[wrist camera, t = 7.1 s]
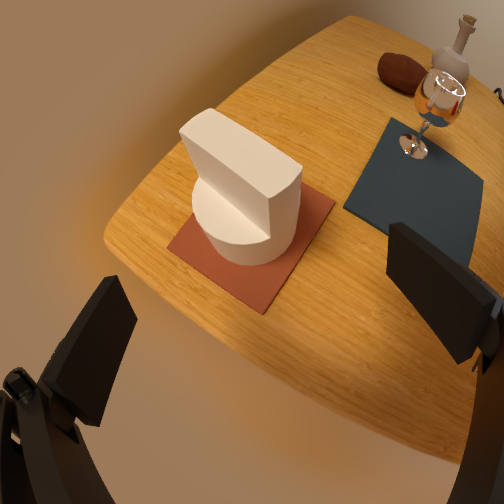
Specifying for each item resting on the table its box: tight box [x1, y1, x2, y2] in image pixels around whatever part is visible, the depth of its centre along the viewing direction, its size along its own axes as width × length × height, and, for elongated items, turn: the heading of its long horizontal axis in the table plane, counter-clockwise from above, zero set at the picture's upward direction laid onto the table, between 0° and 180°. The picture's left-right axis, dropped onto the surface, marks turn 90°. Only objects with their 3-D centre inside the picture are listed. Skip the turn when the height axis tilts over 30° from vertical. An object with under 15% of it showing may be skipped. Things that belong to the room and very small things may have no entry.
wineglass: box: [399, 69, 465, 159], centre depth 24 cm, size 6×6×12 cm
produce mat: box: [167, 182, 335, 315], centre depth 28 cm, size 14×12×1 cm
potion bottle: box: [432, 15, 477, 85], centre depth 27 cm, size 9×9×18 cm
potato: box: [377, 53, 427, 93], centre depth 31 cm, size 7×9×6 cm
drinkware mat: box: [343, 117, 484, 267], centre depth 27 cm, size 18×17×1 cm
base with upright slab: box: [179, 108, 303, 266], centre depth 22 cm, size 9×9×12 cm
